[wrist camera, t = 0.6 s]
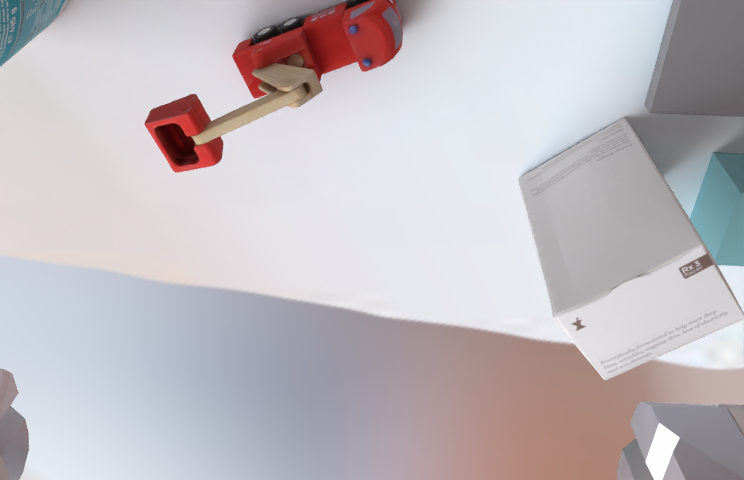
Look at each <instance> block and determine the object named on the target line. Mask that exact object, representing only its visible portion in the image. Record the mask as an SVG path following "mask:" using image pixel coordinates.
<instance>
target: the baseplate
mask: <svg viewBox="0 0 744 480" xmlns="http://www.w3.org/2000/svg"><path fill="white" fill-rule="evenodd" d="M645 105H646V107H647V109H648V110H649V112H650V113H667V114H692V115H716V116H741V117H744V0H673V3H672V6H671V10H670V14H669V17H668V21H667V25H666V28H665V32H664V36H663V40H662V43H661V47H660V51H659V54H658V58H657V62H656V65H655V69H654V73H653V76H652V80H651V84H650V88H649V91H648V95H647V99H646V102H645Z"/></svg>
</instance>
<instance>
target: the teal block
mask: <svg viewBox="0 0 744 480" xmlns="http://www.w3.org/2000/svg"><path fill="white" fill-rule="evenodd" d="M690 220H691V222H692V224H693V225H694V227H695V229H696V230H697V232H698V234H699V235H700V237H701V238H702V240H703V242H704V243H705V245H706V247H707V248H708V250H709V252H710V253H711V255H712V257H713V258H714V260H715V262H716V264H717V265H731V266H744V154H734V153H713V154H712V157H711V160H710V163H709V166H708V169H707V172H706V174H705V177H704V180H703V183H702V186H701V189H700V192H699V195H698V197H697V200H696V203H695V206H694V209H693V212H692V215H691V218H690Z"/></svg>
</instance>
